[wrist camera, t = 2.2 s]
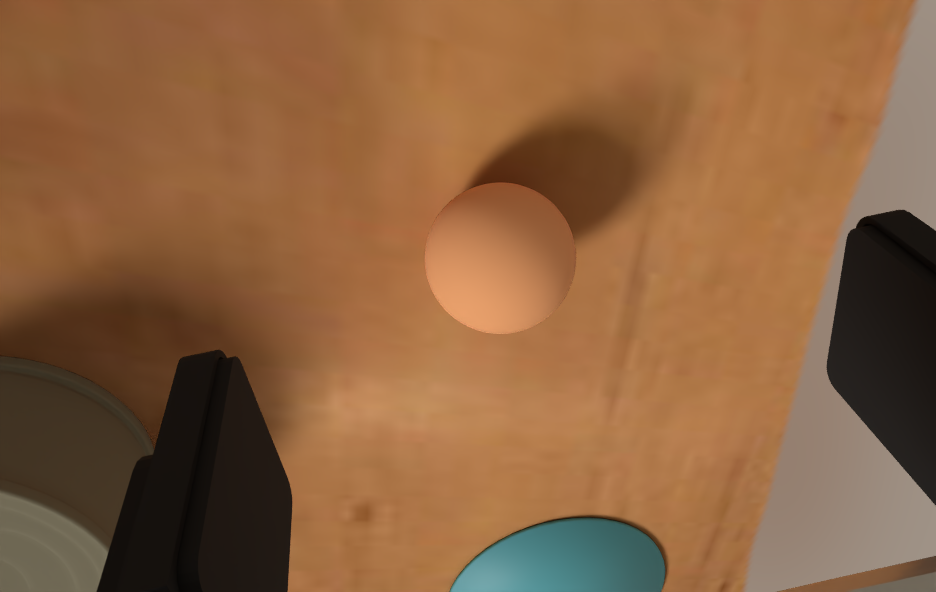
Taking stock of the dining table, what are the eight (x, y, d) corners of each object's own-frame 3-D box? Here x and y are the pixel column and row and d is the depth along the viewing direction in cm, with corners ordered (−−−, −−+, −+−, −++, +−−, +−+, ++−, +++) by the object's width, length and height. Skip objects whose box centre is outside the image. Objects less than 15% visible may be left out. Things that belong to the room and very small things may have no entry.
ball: (402, 177, 28) (419, 249, 24) (545, 143, 28) (588, 208, 24) (432, 296, 31) (452, 380, 27) (561, 265, 31) (601, 342, 27)
